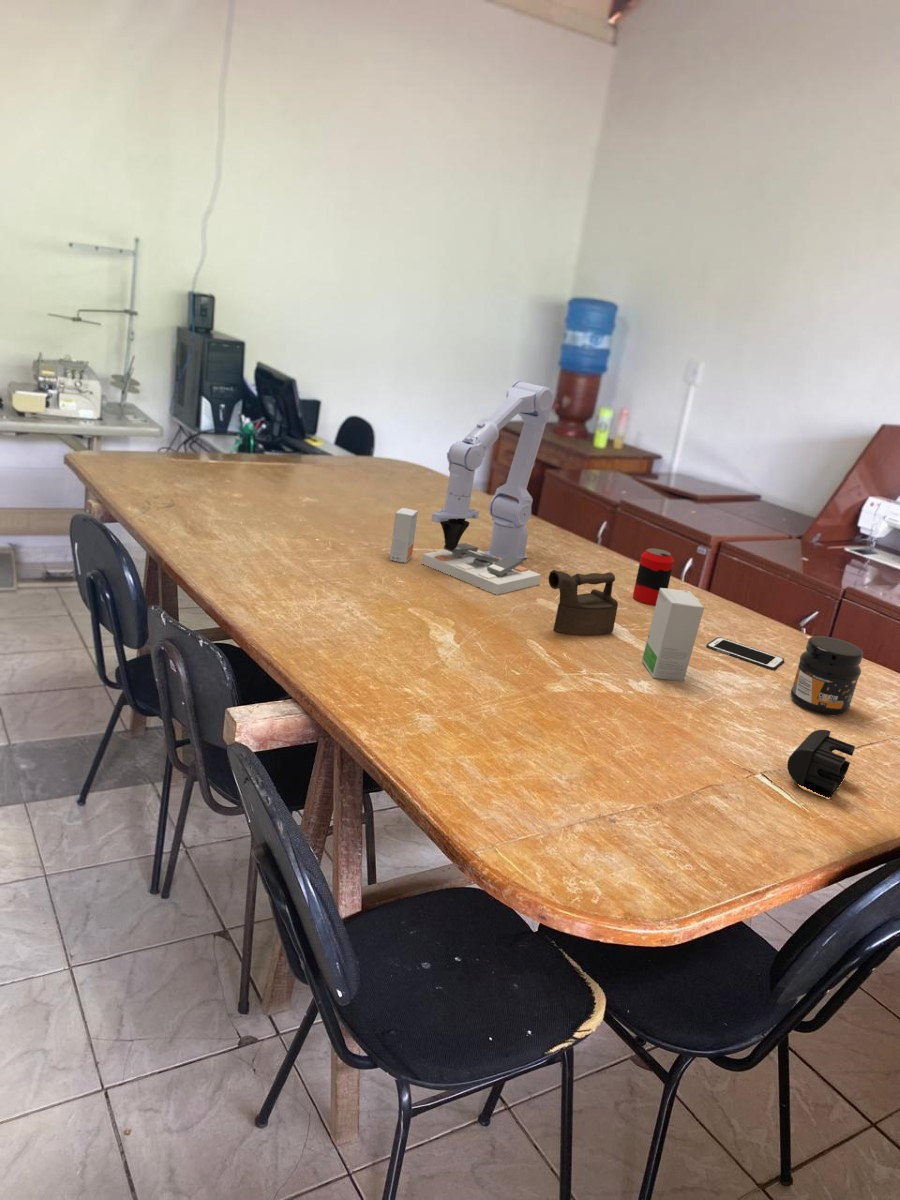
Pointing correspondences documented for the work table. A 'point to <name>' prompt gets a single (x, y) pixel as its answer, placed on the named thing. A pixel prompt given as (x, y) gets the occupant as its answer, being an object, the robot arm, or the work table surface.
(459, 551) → the block
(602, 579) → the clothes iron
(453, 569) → the console
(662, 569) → the soda can
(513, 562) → the block
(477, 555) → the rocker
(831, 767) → the end cap
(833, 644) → the supplement container
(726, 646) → the cell phone
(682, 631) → the skincare box
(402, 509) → the skincare box
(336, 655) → the work table surface
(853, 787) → the work table surface
